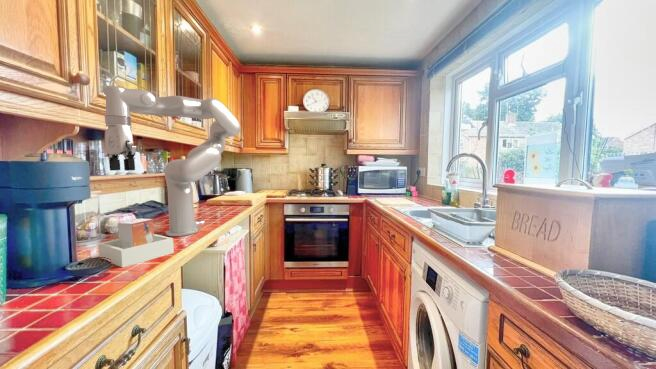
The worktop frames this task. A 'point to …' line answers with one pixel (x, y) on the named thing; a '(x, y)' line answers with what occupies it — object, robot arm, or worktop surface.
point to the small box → (135, 233)
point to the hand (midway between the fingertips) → (122, 170)
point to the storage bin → (136, 251)
